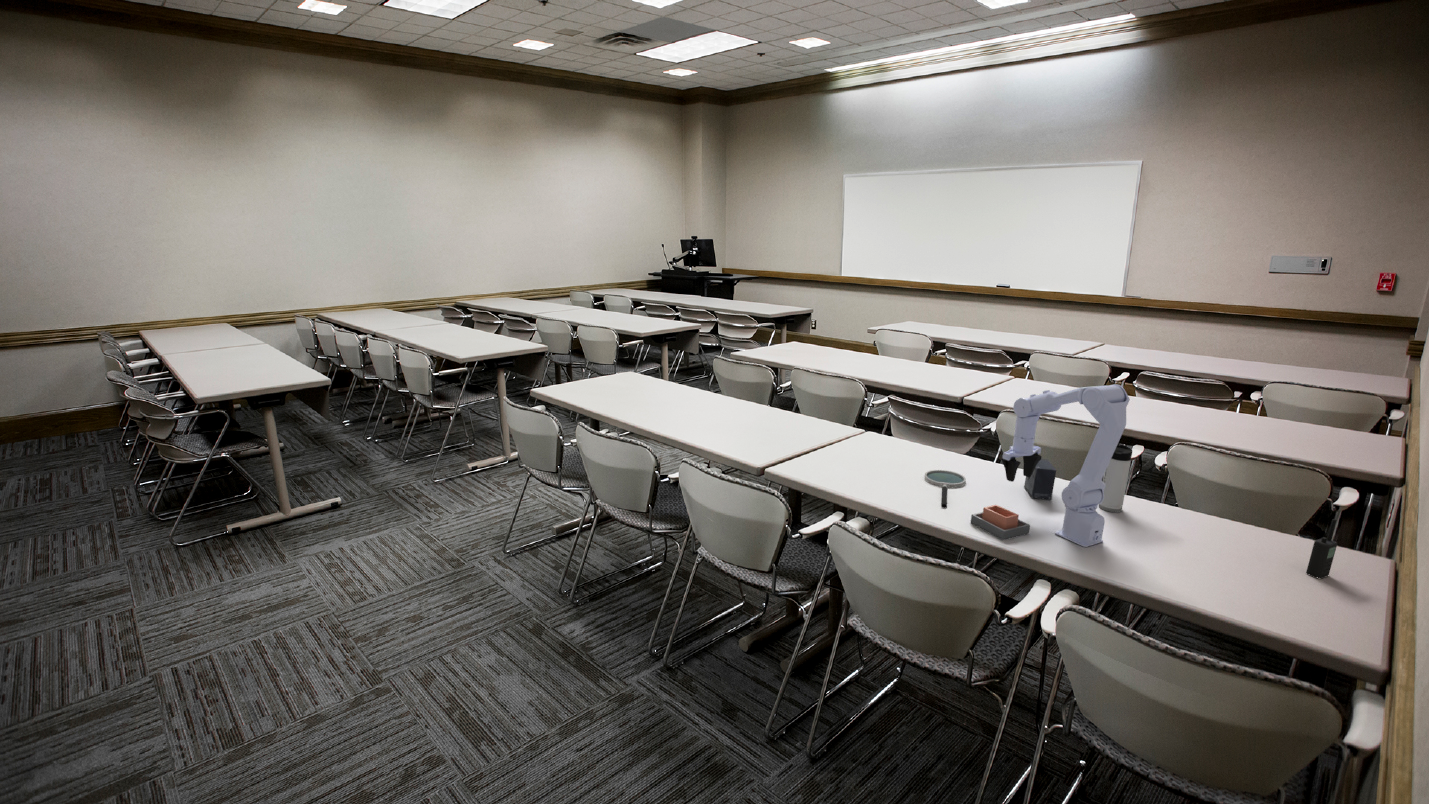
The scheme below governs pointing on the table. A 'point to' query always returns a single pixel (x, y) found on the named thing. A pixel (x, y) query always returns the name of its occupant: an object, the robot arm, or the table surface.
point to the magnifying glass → (945, 481)
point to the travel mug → (1116, 479)
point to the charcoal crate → (998, 532)
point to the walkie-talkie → (1322, 555)
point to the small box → (1041, 481)
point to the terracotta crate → (1000, 517)
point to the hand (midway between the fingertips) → (1018, 478)
